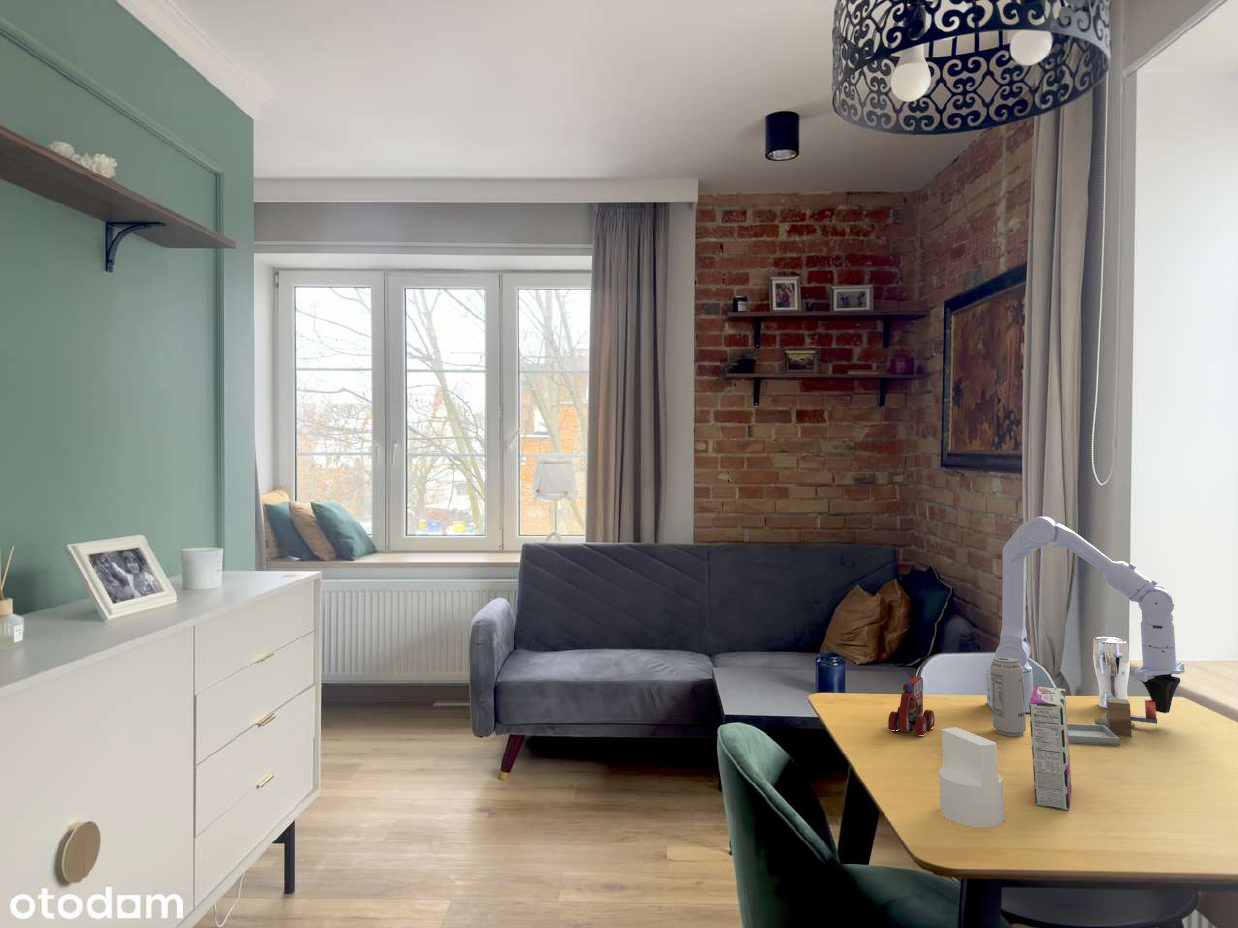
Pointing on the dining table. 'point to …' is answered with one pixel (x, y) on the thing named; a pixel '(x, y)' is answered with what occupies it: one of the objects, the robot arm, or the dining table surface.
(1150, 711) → the crank
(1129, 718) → the block
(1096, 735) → the tray
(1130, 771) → the dining table surface
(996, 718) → the energy drink can
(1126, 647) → the beer glass
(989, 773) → the base with upright slab
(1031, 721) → the candy bar box
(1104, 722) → the crank hub
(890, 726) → the toy fire truck
